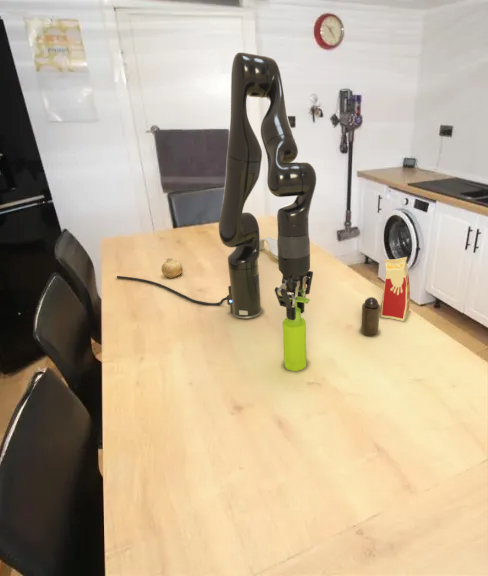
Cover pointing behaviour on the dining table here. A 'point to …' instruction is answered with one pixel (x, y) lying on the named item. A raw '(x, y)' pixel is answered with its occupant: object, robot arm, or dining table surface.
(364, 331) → the pepper mill
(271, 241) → the spoon rest
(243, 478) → the dining table surface
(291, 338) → the soap dispenser
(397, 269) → the red cream snack bag
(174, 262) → the onion
